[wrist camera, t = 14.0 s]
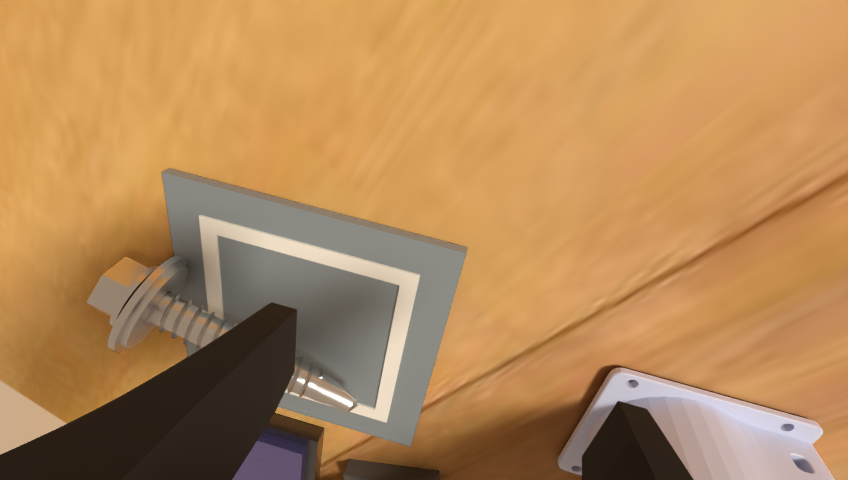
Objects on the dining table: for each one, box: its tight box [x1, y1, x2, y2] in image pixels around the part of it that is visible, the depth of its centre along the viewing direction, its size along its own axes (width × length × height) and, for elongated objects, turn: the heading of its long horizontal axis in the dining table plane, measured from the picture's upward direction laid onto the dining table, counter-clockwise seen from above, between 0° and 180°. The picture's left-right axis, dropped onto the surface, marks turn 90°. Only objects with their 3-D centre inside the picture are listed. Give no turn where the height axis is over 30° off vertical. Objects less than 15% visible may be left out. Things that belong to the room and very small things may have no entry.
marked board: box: [162, 168, 467, 447], centre depth 23 cm, size 14×14×1 cm
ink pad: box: [232, 413, 324, 480], centre depth 29 cm, size 9×9×2 cm
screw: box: [86, 256, 358, 413], centre depth 21 cm, size 13×5×5 cm, turn 57°
